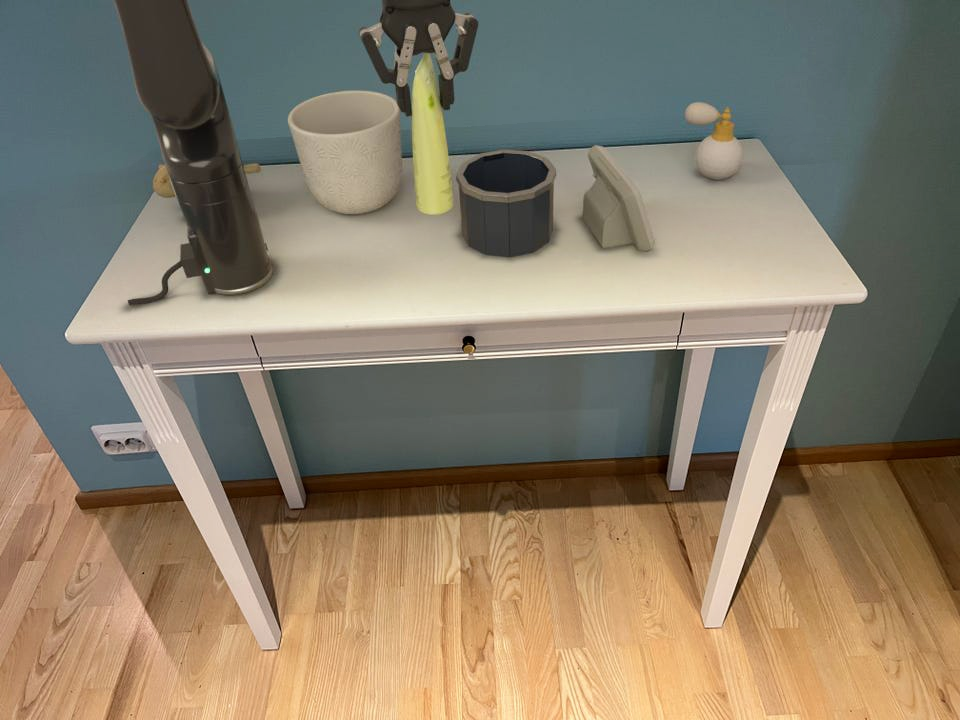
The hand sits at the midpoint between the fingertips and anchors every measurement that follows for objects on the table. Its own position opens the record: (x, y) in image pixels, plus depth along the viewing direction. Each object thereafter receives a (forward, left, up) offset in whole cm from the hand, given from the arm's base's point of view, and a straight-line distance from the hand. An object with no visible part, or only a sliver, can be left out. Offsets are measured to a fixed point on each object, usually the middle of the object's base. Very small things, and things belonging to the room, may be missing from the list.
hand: (426, 110), depth 89 cm
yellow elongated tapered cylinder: (0, 0, -13) cm, 13 cm away
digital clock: (+28, +2, -24) cm, 37 cm away
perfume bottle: (+49, +12, -24) cm, 56 cm away
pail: (+12, +7, -24) cm, 28 cm away
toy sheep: (-31, +31, -24) cm, 50 cm away
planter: (-8, +25, -24) cm, 35 cm away
